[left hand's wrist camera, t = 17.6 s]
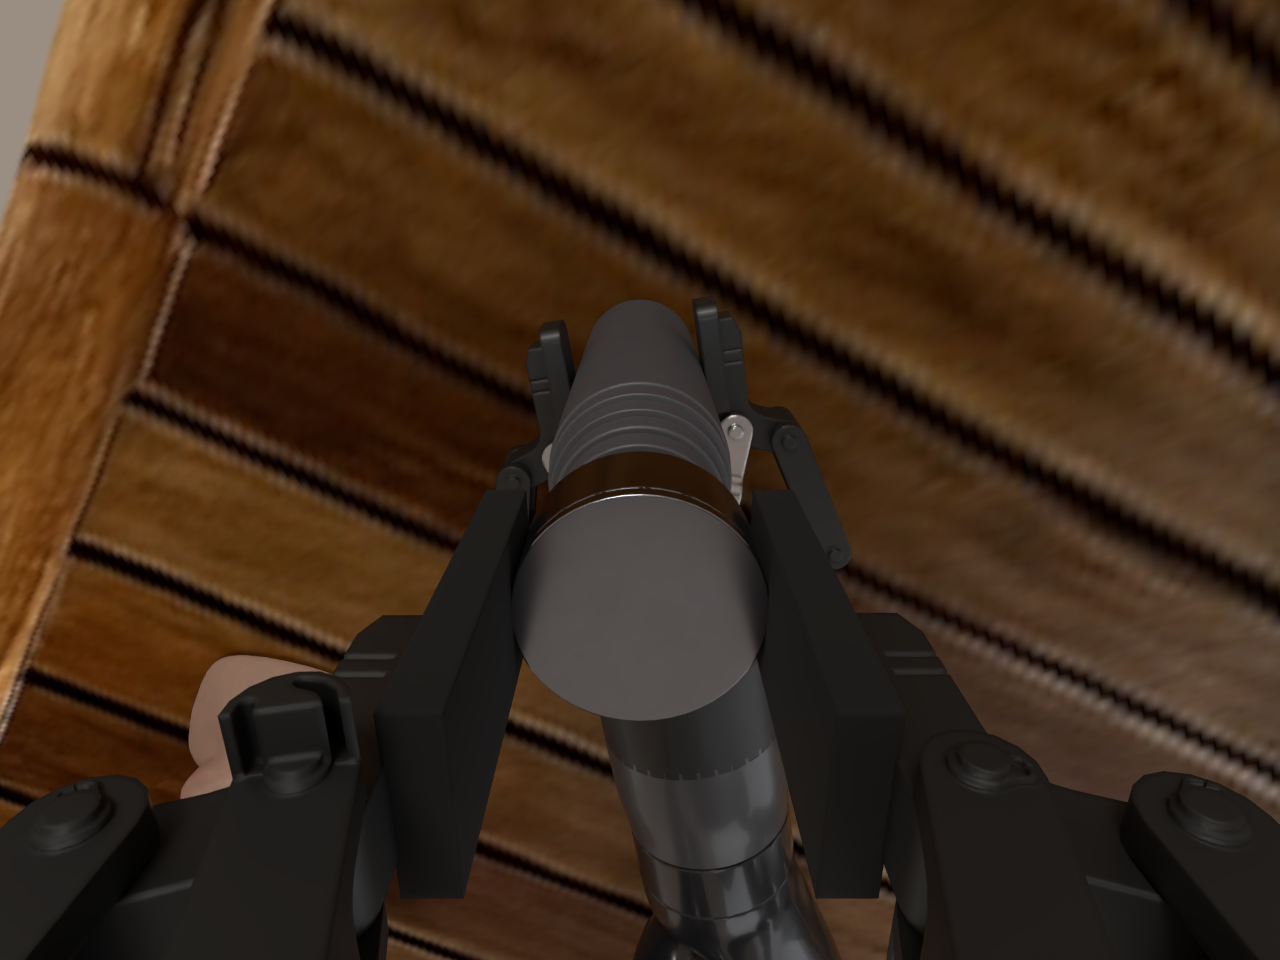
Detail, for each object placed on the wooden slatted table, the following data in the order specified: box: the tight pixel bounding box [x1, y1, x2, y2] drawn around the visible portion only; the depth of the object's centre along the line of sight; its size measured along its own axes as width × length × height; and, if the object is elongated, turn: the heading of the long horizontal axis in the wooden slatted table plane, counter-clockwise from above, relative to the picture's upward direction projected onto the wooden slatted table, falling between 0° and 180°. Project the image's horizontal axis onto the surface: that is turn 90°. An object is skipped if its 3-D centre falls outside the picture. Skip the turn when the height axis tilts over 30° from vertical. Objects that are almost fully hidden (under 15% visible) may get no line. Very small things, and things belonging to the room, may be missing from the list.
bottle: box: [548, 300, 732, 492], centre depth 23 cm, size 5×5×21 cm
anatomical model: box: [181, 655, 333, 799], centre depth 39 cm, size 13×4×12 cm
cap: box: [511, 451, 769, 721], centre depth 14 cm, size 4×4×2 cm
